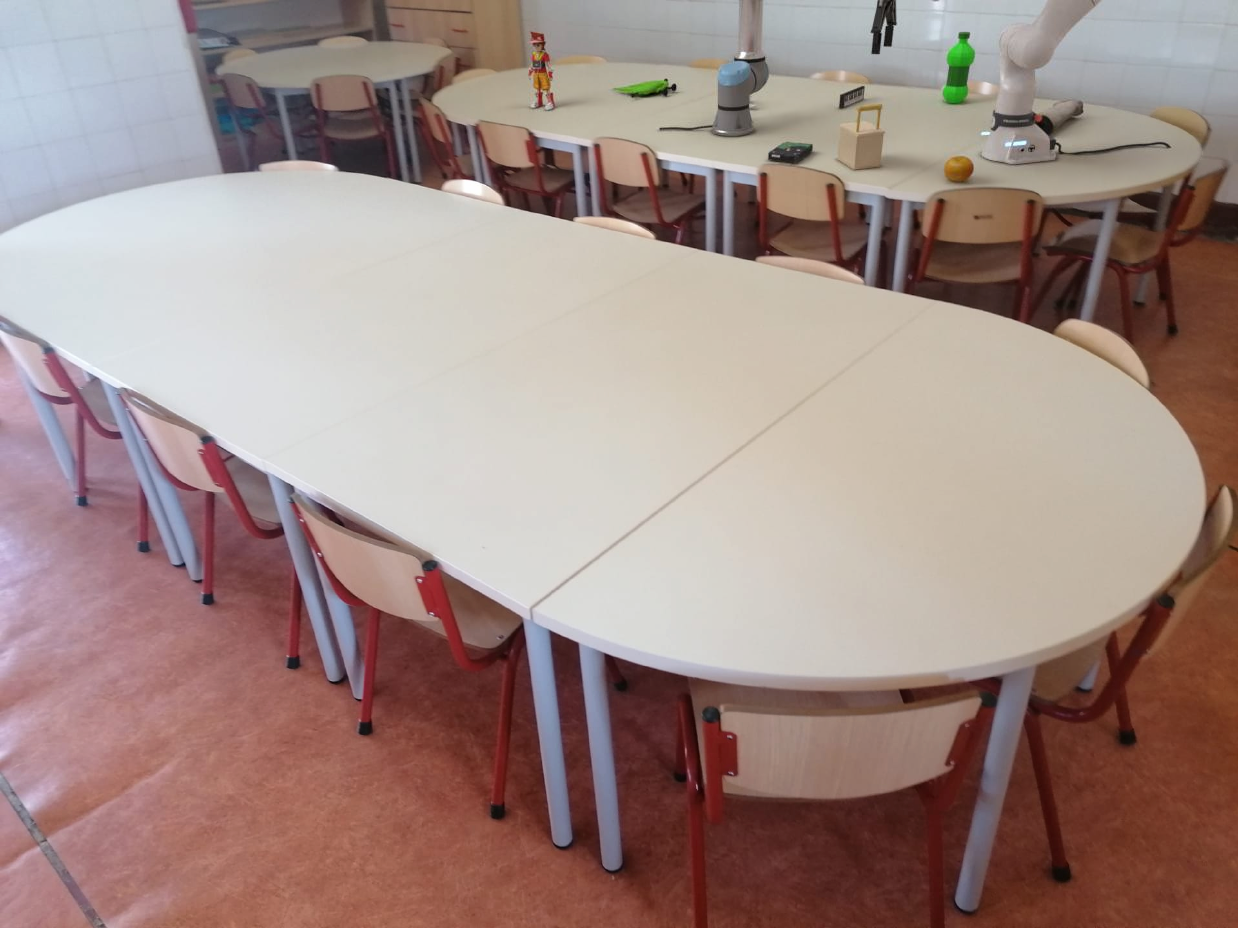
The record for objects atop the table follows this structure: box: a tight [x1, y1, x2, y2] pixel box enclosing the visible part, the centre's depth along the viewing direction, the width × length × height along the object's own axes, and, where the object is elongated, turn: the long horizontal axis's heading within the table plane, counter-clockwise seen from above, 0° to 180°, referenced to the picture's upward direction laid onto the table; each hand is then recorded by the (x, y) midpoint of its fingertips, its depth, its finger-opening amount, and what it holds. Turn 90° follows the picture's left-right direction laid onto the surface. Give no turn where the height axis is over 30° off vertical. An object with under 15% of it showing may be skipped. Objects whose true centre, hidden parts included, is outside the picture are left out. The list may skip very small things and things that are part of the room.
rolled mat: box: [1035, 99, 1084, 136], centre depth 319 cm, size 30×9×10 cm
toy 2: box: [612, 78, 677, 99], centre depth 396 cm, size 28×5×30 cm
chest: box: [837, 127, 885, 171], centre depth 294 cm, size 13×9×10 cm
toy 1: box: [527, 31, 556, 111], centre depth 374 cm, size 12×9×30 cm
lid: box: [840, 103, 886, 137], centre depth 289 cm, size 13×9×9 cm
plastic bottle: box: [942, 31, 976, 104], centre depth 348 cm, size 10×10×25 cm
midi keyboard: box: [838, 85, 866, 109], centre depth 359 cm, size 18×1×5 cm, turn 138°
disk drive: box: [767, 141, 814, 164], centre depth 306 cm, size 10×3×15 cm
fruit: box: [943, 155, 975, 183], centre depth 275 cm, size 8×8×8 cm
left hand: (881, 50), depth 308 cm, fingers open, 13 cm apart
